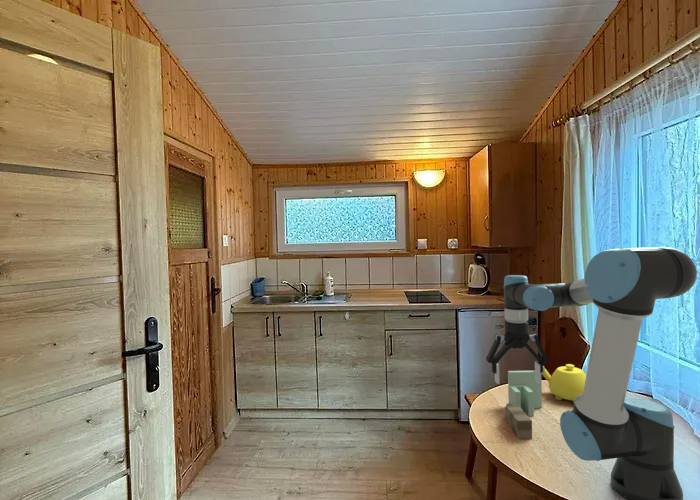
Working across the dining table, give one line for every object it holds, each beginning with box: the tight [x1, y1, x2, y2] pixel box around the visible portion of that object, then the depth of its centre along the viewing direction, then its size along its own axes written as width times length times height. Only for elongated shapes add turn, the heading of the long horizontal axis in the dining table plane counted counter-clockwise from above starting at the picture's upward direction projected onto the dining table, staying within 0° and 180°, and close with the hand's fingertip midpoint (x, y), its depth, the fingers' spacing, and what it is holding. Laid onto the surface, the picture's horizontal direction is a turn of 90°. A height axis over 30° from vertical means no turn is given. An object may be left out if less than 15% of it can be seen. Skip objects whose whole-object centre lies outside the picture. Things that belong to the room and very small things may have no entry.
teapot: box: [541, 363, 587, 404], centre depth 168 cm, size 20×16×14 cm
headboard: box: [507, 365, 546, 417], centre depth 156 cm, size 9×13×16 cm
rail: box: [505, 402, 533, 440], centre depth 143 cm, size 16×4×6 cm, turn 177°
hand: (517, 382), depth 141 cm, fingers open, 13 cm apart
